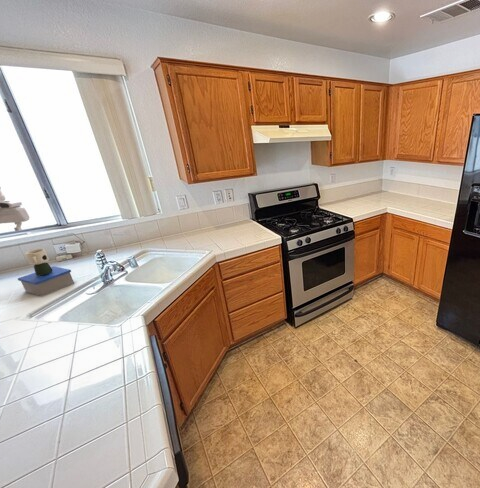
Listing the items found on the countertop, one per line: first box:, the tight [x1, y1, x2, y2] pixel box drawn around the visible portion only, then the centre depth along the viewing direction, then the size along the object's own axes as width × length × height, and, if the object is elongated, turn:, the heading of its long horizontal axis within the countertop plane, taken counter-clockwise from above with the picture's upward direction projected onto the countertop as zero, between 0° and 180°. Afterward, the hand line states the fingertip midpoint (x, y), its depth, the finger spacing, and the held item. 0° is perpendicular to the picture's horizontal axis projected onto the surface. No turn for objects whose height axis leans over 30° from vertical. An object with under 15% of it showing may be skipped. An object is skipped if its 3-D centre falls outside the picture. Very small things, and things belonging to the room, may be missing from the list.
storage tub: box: [17, 266, 75, 297], centre depth 140 cm, size 15×15×8 cm
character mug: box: [24, 248, 53, 275], centre depth 136 cm, size 11×7×13 cm, turn 34°
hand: (6, 231), depth 129 cm, fingers open, 8 cm apart
